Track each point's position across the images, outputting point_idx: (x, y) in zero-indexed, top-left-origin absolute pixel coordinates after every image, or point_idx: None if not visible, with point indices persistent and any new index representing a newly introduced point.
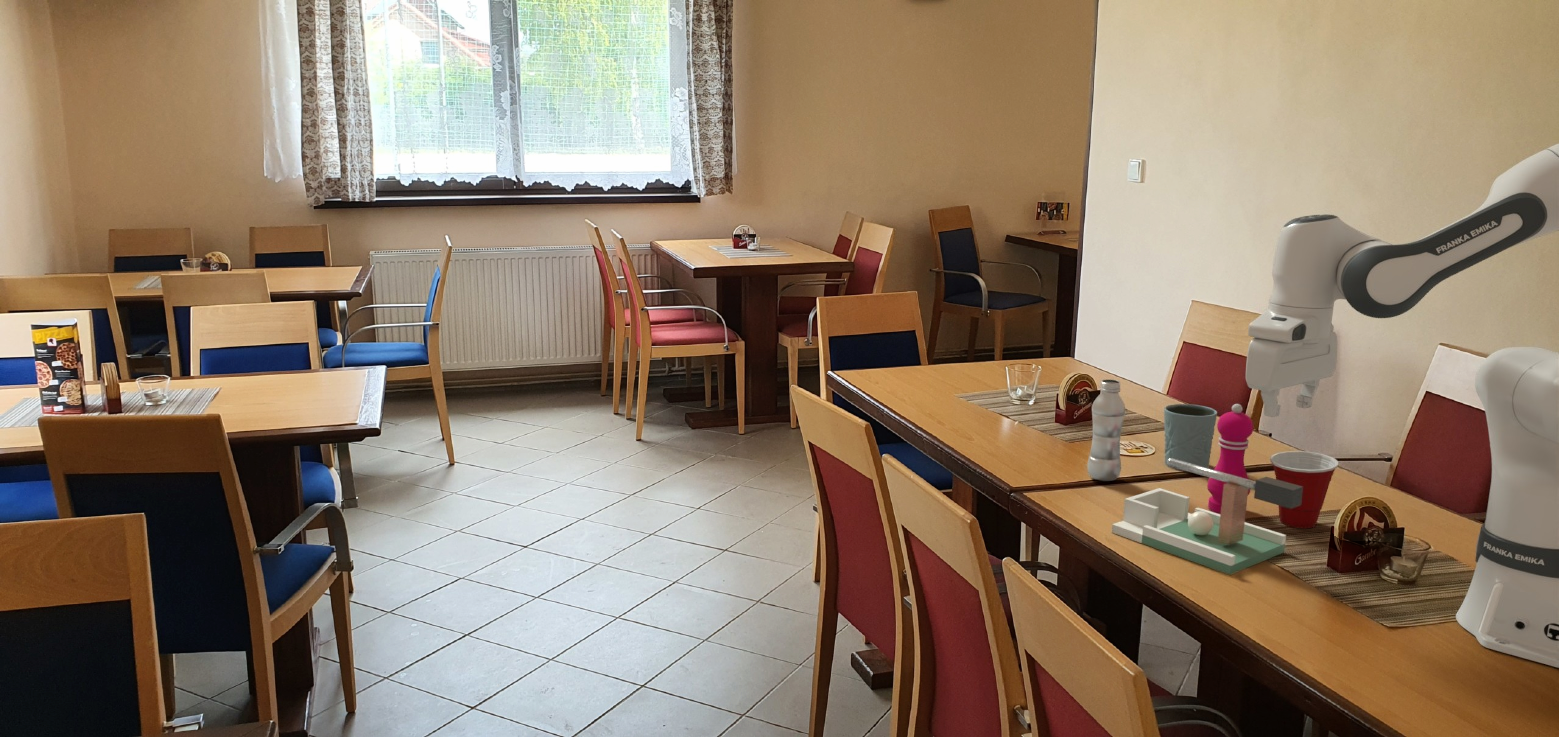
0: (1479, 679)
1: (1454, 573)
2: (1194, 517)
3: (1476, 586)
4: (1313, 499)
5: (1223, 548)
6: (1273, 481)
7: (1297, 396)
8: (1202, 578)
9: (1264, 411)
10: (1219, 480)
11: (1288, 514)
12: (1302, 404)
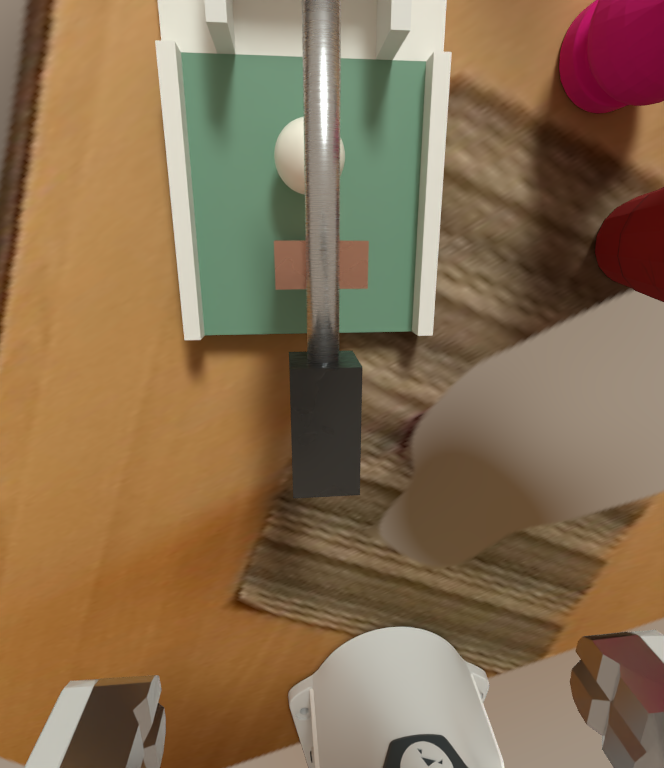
0: (181, 726)
1: (559, 551)
2: (282, 146)
3: (353, 721)
4: (656, 298)
5: (272, 262)
6: (328, 413)
7: (641, 713)
8: (119, 307)
9: (56, 710)
10: (625, 9)
11: (610, 240)
12: (593, 690)
